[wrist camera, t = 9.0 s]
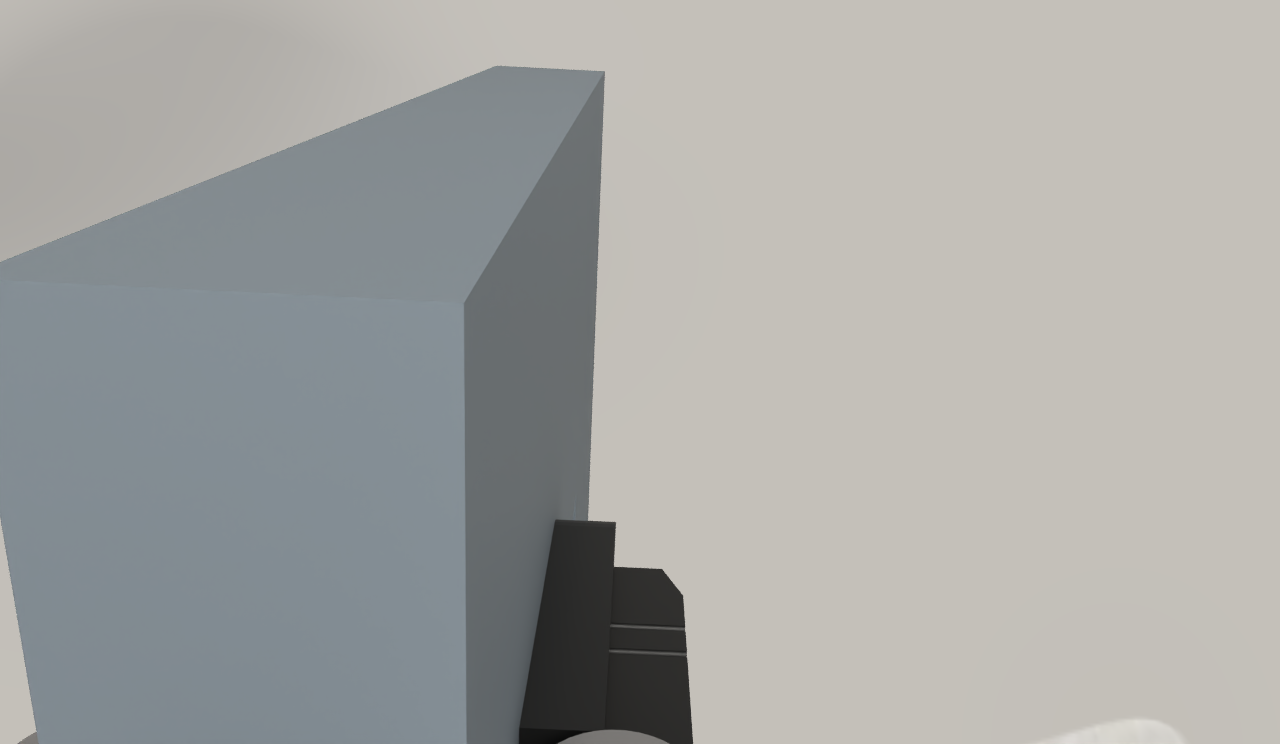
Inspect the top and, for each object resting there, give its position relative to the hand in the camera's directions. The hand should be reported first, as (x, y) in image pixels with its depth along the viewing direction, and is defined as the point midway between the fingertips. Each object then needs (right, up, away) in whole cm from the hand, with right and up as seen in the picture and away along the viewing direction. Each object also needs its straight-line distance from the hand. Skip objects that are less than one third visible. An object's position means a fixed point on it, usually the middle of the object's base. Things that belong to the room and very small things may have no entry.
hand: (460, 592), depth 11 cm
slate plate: (0, -6, +4) cm, 7 cm away
